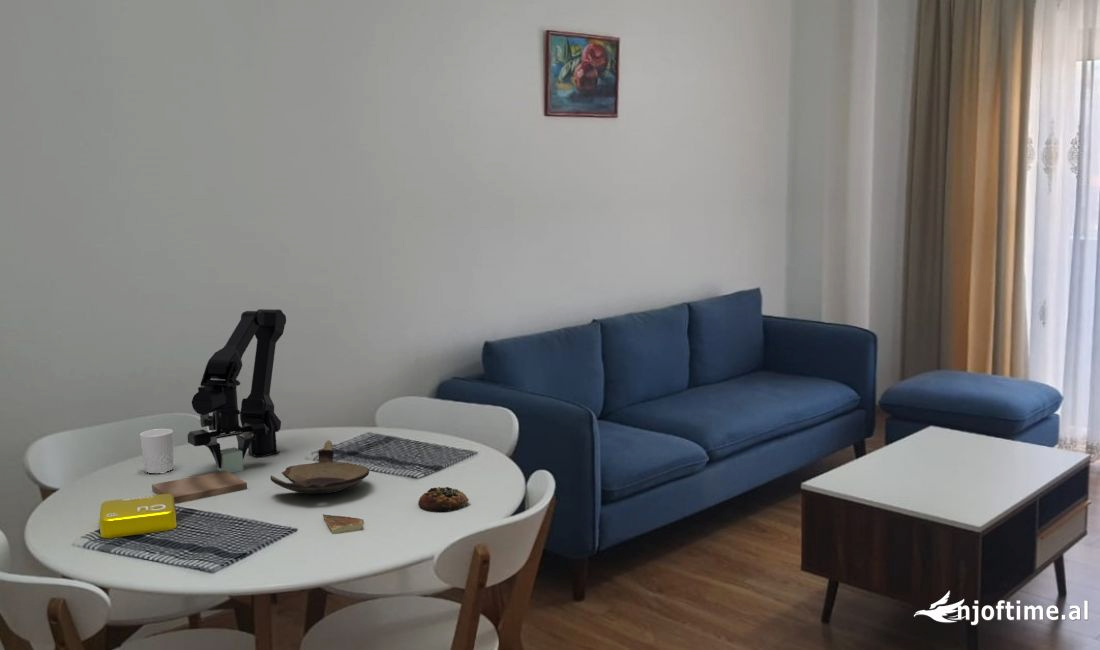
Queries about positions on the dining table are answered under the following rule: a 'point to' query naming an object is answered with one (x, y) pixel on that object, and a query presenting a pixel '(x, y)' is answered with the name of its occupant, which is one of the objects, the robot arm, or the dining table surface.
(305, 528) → the dining table surface
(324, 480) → the oil lamp
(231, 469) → the sage cube
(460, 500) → the bread roll
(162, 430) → the white cup
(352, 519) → the shard
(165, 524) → the element tile
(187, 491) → the walnut board
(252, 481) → the dining table surface
